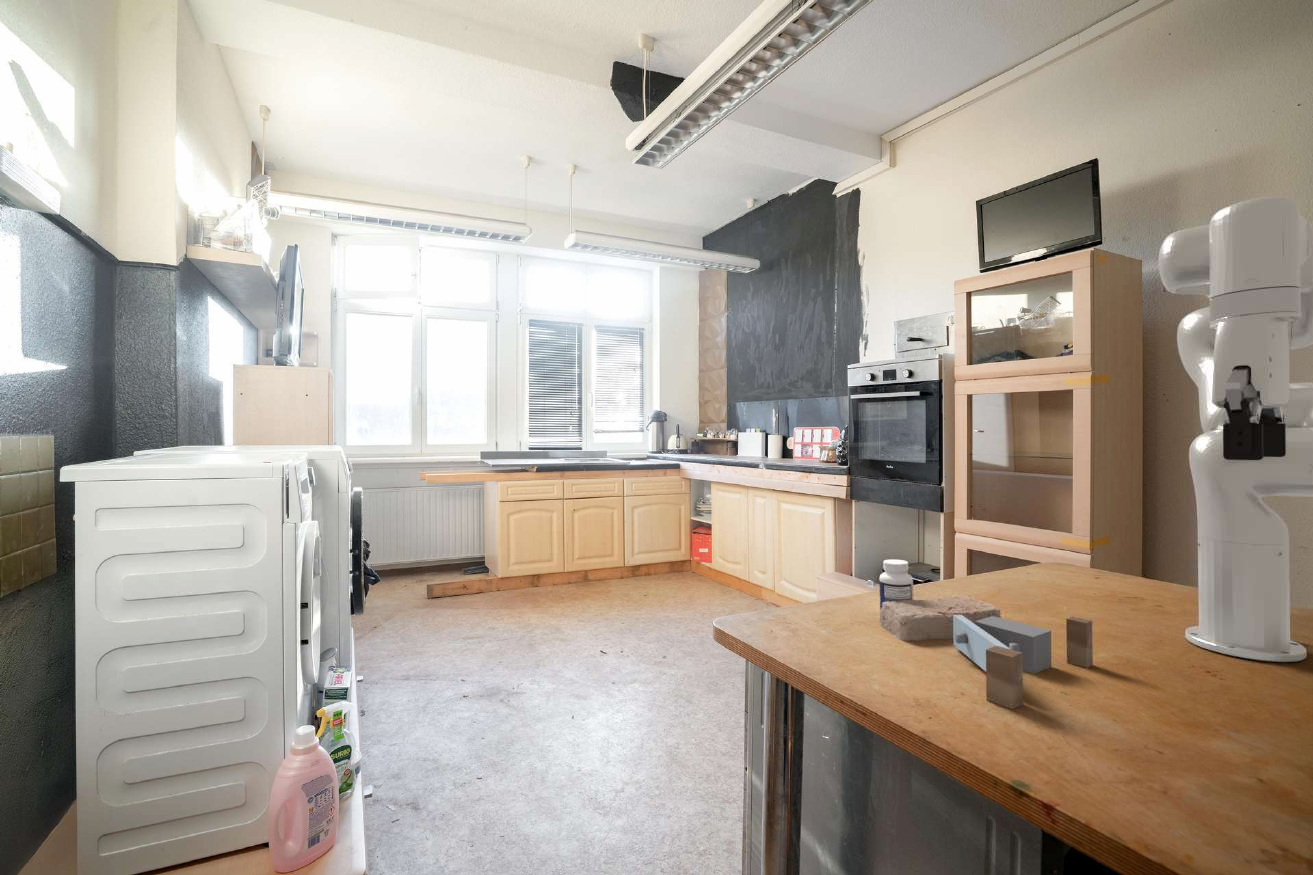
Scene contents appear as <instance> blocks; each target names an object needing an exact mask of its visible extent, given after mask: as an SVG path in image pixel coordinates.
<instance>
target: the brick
mask: <svg viewBox="0 0 1313 875" xmlns="http://www.w3.org/2000/svg"><path fill="white" fill-rule="evenodd" d="M953 615H962V616H964V617H965V618H967V619H968V620H970V621H971V622H972V623H974V624H975V621H978V620H981V619H984V618H988V617H991V616H994V617H998V618H1002V615H1001V609H1000V608H999V607H997V606H996V605H994V604H993V603H989V602H986V601H984V600H979V599H977V598H975V597H974V598H973V597H971V596H970V595H969V596H968V595H967V596H966V595H965V596H964V595H963V596H961V595H959V596H947V597H940V598H936V599H913V600H901V601H892V602H888V601H887V602H883V603H882V608H881V609H880V608H879V623H880V626H881V628H882V629H884V630H886V632H889V633H890V634H891V635H893V636H894V637H895V638H896V639H898V640H900V641H904V642H908V641H910V642H911V641H912V642H913V641H915V642H916V641H926V640H944V639H954V638H953Z"/></svg>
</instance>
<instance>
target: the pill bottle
mask: <svg viewBox="0 0 1313 875" xmlns="http://www.w3.org/2000/svg"><path fill="white" fill-rule="evenodd" d="M882 566H883V570H884V572H882V573H881V574H880V575H879V610H880V609H881V608H882V603H883V602H887V601H888V602H892V601H901V600H914V579H913V577H912V575H911V574H910V573H908V572H909V561H907V560H904V559H885V560H883V565H882Z"/></svg>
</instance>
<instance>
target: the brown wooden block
mask: <svg viewBox="0 0 1313 875" xmlns="http://www.w3.org/2000/svg"><path fill="white" fill-rule="evenodd" d="M1023 672H1024V671H1023V654H1022V652H1018V651H1015V650H1011V649H1007V648H1003V647H1000V646H994V647H991V648H989V649H986V672H985V674H986V675H985V678H986V679H985V680H986V681H985V683H986V684H985V686H986V687H985V690H986V695H985V696H986V701H989V702H991V703H994V704H996V705H1000V706H1002V707H1005V708H1008V709H1011V710H1015V709H1016V708H1018V707H1020V706H1022V705H1023V704H1024V675H1023V674H1024V673H1023Z"/></svg>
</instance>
